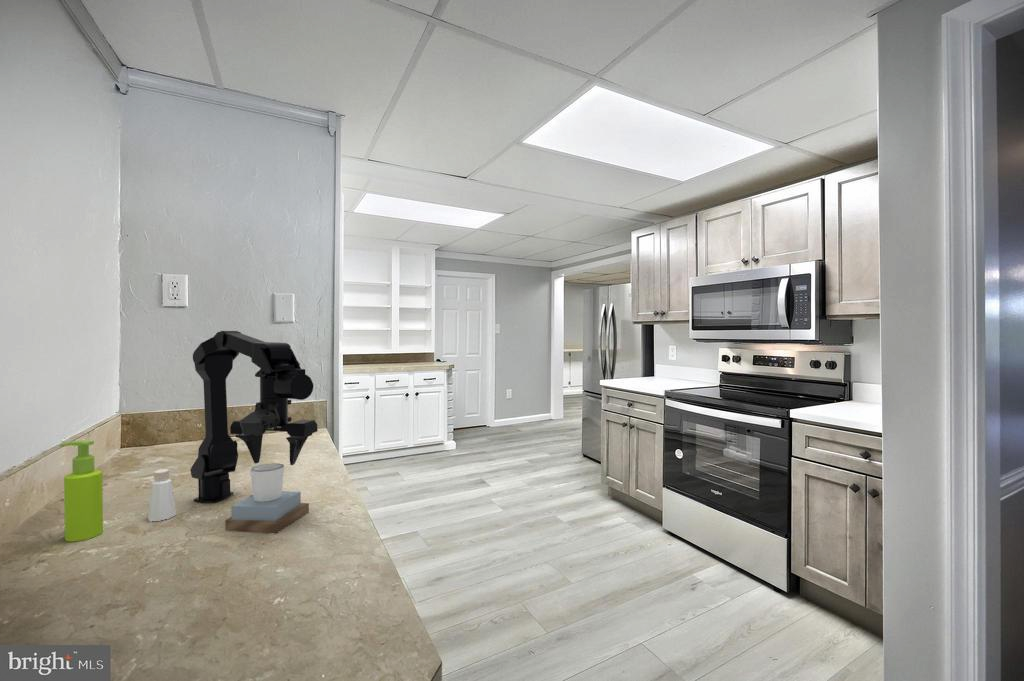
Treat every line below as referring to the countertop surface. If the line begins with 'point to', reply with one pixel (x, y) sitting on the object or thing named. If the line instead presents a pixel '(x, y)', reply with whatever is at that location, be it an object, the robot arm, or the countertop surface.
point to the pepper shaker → (161, 497)
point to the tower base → (267, 522)
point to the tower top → (266, 507)
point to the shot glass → (267, 482)
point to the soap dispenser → (83, 496)
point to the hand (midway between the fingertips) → (274, 463)
